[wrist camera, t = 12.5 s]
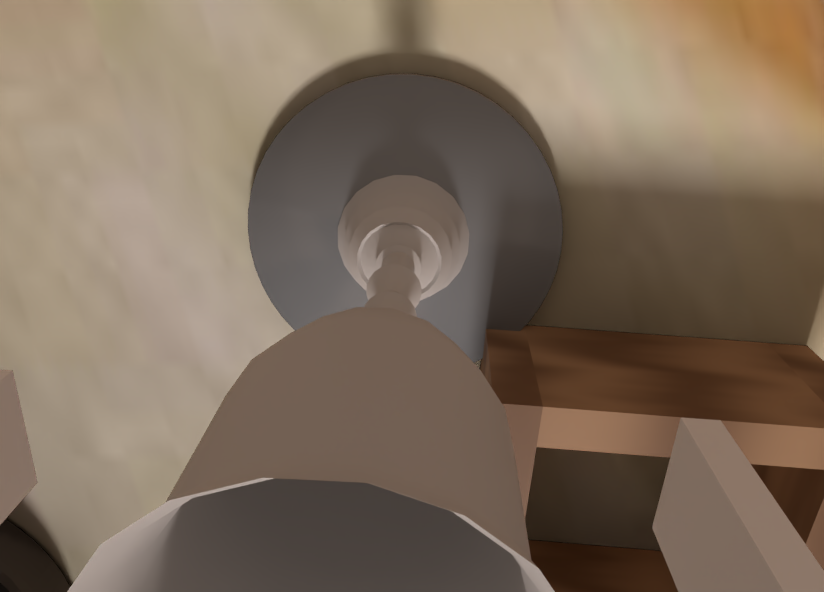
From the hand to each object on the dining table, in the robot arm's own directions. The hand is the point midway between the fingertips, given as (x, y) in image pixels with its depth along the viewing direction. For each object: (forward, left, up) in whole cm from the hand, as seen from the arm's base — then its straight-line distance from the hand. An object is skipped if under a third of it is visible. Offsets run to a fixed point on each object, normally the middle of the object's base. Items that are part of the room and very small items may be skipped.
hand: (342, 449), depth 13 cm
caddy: (+10, -10, -13) cm, 20 cm away
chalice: (0, 0, -13) cm, 13 cm away
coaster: (0, 0, -13) cm, 13 cm away
